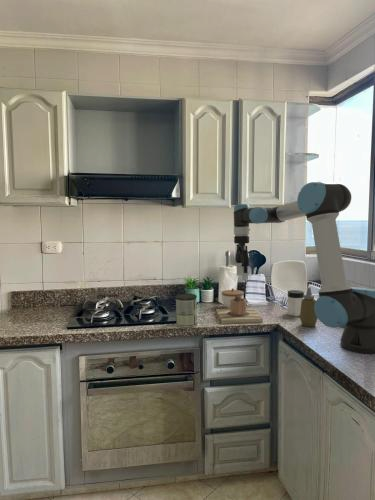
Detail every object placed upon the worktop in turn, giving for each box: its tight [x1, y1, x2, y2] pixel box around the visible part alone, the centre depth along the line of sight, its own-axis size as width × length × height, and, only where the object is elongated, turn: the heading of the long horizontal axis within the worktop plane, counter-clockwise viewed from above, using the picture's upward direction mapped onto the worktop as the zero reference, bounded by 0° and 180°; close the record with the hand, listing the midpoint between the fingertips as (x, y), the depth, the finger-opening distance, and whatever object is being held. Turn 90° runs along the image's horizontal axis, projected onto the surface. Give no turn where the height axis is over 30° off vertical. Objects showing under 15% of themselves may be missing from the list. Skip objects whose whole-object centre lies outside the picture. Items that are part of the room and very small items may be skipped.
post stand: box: [215, 296, 264, 325], centre depth 184 cm, size 20×20×11 cm
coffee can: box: [174, 293, 198, 328], centre depth 174 cm, size 10×10×14 cm
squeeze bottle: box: [299, 286, 319, 328], centre depth 169 cm, size 8×8×18 cm
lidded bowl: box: [221, 288, 245, 309], centre depth 205 cm, size 13×13×11 cm
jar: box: [287, 289, 305, 317], centre depth 189 cm, size 9×8×12 cm
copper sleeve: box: [230, 298, 247, 315], centre depth 184 cm, size 8×8×7 cm
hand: (242, 277), depth 182 cm, fingers open, 13 cm apart
